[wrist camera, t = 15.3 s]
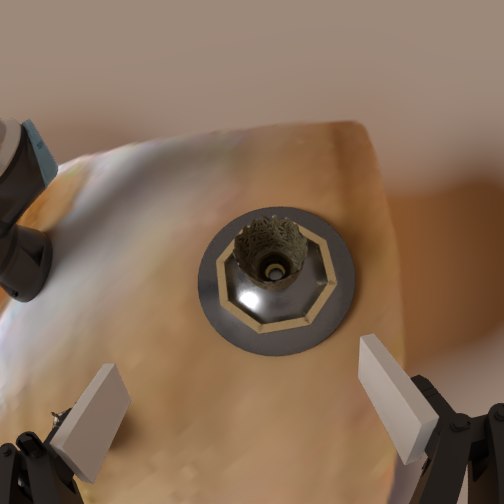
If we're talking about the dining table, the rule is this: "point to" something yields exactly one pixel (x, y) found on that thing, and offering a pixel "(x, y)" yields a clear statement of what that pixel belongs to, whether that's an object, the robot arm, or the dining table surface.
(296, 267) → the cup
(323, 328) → the carrier plate
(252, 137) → the dining table surface
